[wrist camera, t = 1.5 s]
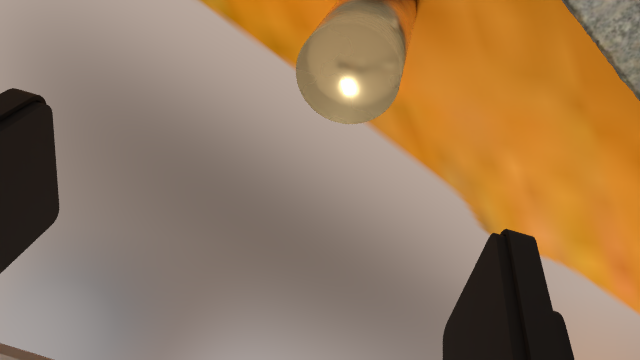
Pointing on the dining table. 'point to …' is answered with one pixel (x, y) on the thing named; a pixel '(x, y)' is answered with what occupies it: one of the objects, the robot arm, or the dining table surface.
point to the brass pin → (356, 59)
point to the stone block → (613, 34)
